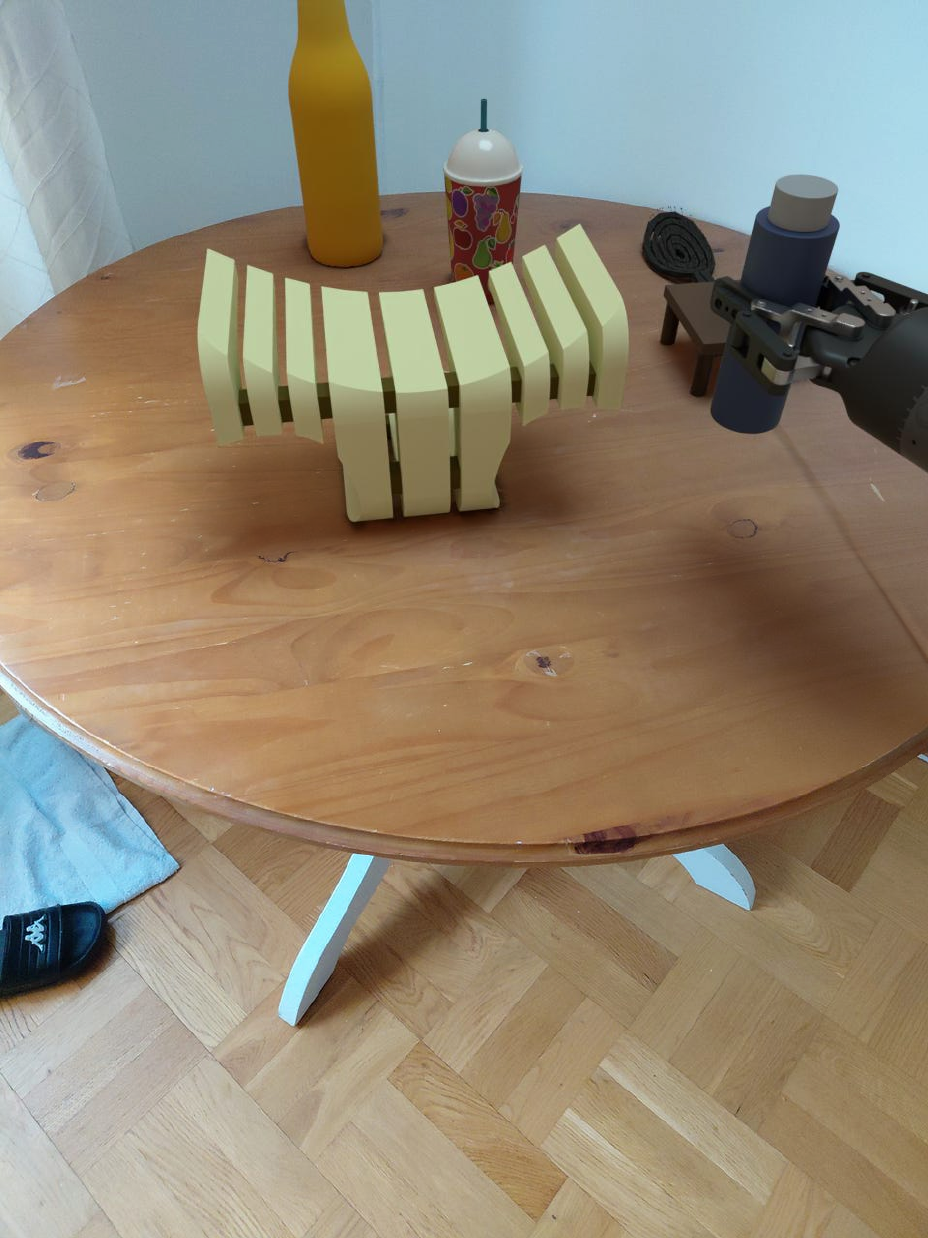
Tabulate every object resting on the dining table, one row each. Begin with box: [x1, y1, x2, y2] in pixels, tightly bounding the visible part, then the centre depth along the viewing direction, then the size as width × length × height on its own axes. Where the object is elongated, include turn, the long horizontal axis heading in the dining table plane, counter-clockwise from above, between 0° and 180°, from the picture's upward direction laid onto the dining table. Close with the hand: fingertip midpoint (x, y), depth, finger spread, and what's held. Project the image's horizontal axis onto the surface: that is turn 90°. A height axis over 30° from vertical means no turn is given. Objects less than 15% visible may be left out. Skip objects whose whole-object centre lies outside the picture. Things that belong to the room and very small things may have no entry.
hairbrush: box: [641, 205, 717, 283], centre depth 100 cm, size 8×4×25 cm
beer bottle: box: [287, 0, 384, 268], centre depth 96 cm, size 9×9×29 cm
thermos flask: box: [709, 174, 841, 435], centre depth 57 cm, size 5×5×16 cm
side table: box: [659, 279, 741, 398], centre depth 87 cm, size 12×12×6 cm
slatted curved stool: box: [197, 223, 630, 523], centre depth 70 cm, size 30×16×18 cm, turn 98°
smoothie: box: [442, 98, 524, 304], centre depth 92 cm, size 8×8×20 cm
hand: (749, 281), depth 58 cm, fingers closed on thermos flask, 5 cm apart
